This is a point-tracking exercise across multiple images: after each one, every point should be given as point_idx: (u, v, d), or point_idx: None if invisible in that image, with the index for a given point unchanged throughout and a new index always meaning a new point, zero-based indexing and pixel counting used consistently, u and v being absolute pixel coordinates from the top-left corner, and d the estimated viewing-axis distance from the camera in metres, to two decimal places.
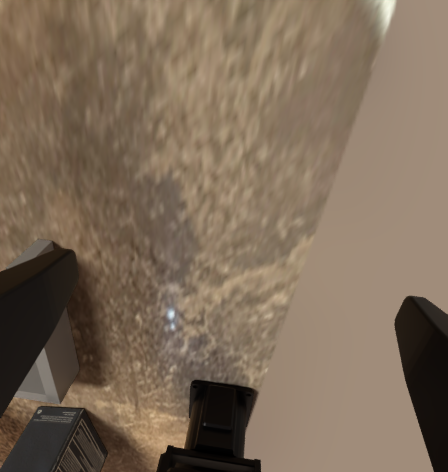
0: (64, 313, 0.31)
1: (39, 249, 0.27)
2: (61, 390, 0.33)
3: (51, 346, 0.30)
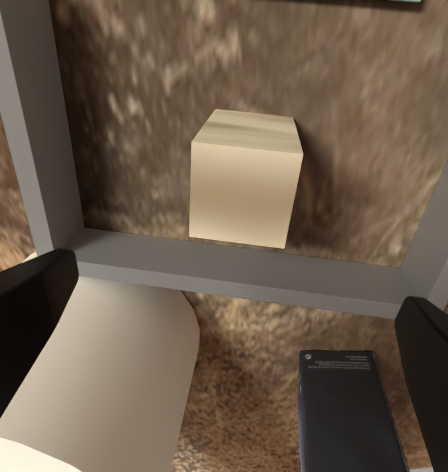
0: None
1: None
2: None
3: None
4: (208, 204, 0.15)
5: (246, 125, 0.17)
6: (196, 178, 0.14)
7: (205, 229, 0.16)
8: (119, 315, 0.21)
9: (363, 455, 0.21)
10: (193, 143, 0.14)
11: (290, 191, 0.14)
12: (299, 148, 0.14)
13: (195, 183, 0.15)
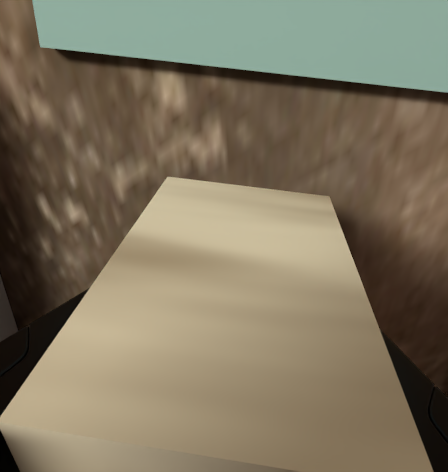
0: None
1: None
2: None
3: None
4: None
5: (226, 248, 0.07)
6: None
7: None
8: None
9: None
10: (5, 425, 0.04)
11: None
12: (404, 418, 0.04)
13: None
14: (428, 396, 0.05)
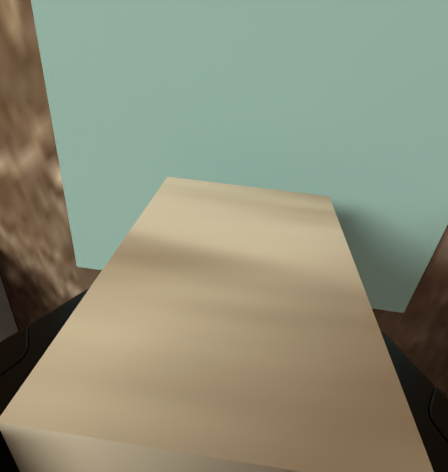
0: None
1: None
2: None
3: None
4: None
5: (226, 248, 0.07)
6: None
7: None
8: None
9: None
10: (5, 425, 0.04)
11: None
12: (404, 418, 0.04)
13: None
14: (428, 396, 0.05)
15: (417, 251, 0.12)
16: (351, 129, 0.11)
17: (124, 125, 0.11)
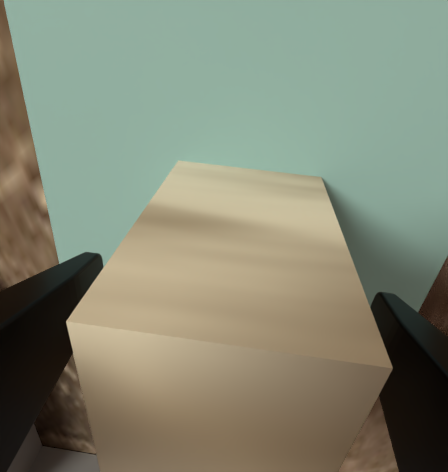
0: None
1: None
2: None
3: None
4: (136, 435, 0.06)
5: (232, 214, 0.08)
6: (96, 392, 0.05)
7: (134, 470, 0.07)
8: None
9: None
10: (72, 324, 0.05)
11: (343, 433, 0.05)
12: (370, 325, 0.05)
13: (95, 399, 0.06)
14: None
15: (418, 276, 0.12)
16: (349, 153, 0.10)
17: (110, 148, 0.11)
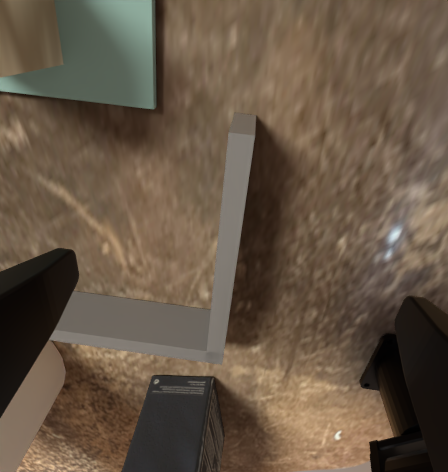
0: None
1: (250, 120, 0.18)
2: None
3: None
4: None
5: None
6: None
7: None
8: None
9: None
10: None
11: None
12: None
13: None
14: None
15: (141, 45, 0.17)
16: None
17: None
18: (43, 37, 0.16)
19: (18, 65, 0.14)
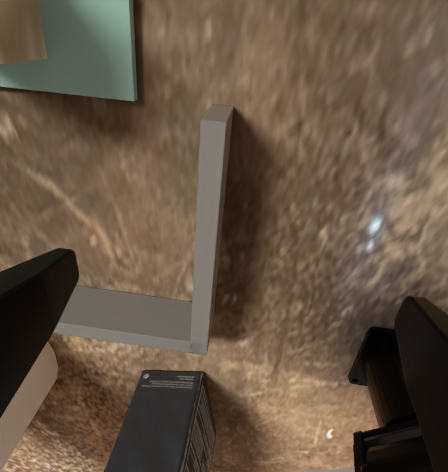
0: (221, 227, 0.23)
1: (226, 110, 0.18)
2: (208, 336, 0.24)
3: (215, 267, 0.21)
4: None
5: None
6: None
7: None
8: None
9: (149, 465, 0.25)
10: None
11: None
12: None
13: None
14: None
15: (120, 39, 0.18)
16: None
17: None
18: (25, 31, 0.17)
19: None
